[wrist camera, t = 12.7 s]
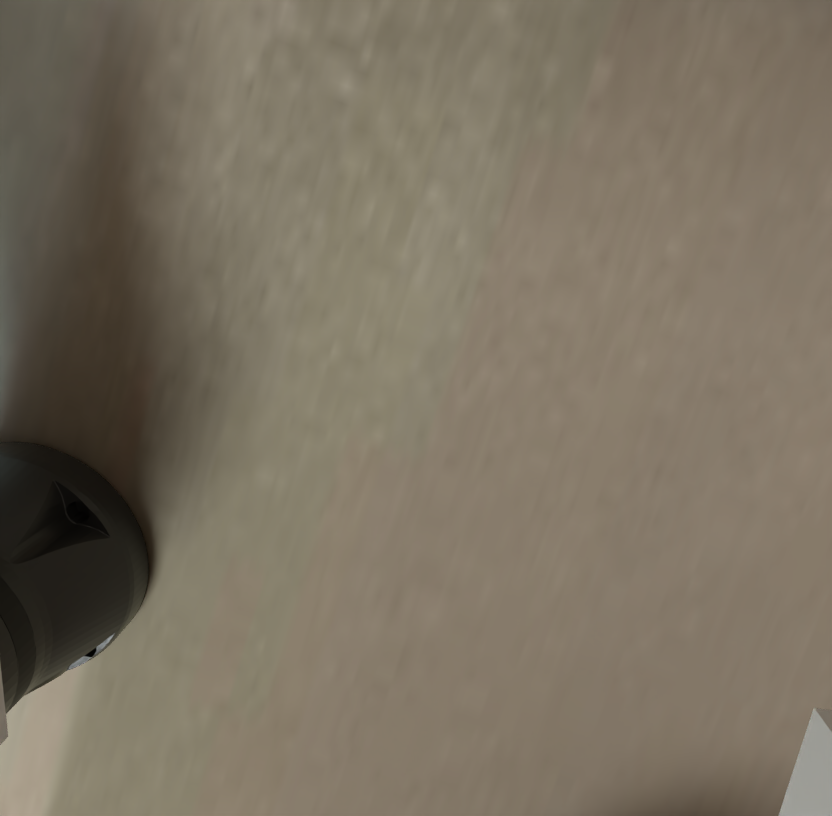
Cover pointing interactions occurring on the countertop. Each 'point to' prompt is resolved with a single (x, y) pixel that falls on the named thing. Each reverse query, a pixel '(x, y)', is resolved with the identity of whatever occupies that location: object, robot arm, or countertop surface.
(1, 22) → the countertop surface
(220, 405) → the countertop surface
